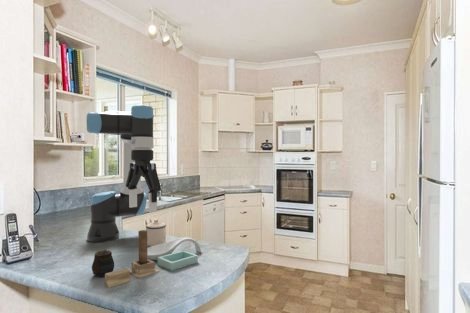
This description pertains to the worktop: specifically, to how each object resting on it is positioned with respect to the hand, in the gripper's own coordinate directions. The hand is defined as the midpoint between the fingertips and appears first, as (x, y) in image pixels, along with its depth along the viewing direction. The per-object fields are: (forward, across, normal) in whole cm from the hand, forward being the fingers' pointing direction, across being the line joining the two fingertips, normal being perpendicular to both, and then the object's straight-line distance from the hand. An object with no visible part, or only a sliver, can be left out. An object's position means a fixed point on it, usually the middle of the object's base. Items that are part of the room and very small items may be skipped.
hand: (142, 209), depth 110 cm
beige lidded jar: (+23, -30, +23) cm, 44 cm away
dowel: (+22, 0, 0) cm, 22 cm away
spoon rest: (+23, -9, +18) cm, 31 cm away
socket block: (+23, 0, 0) cm, 23 cm away
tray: (+23, +2, +14) cm, 27 cm away
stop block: (+23, +2, -10) cm, 25 cm away
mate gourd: (+23, -8, -10) cm, 27 cm away
